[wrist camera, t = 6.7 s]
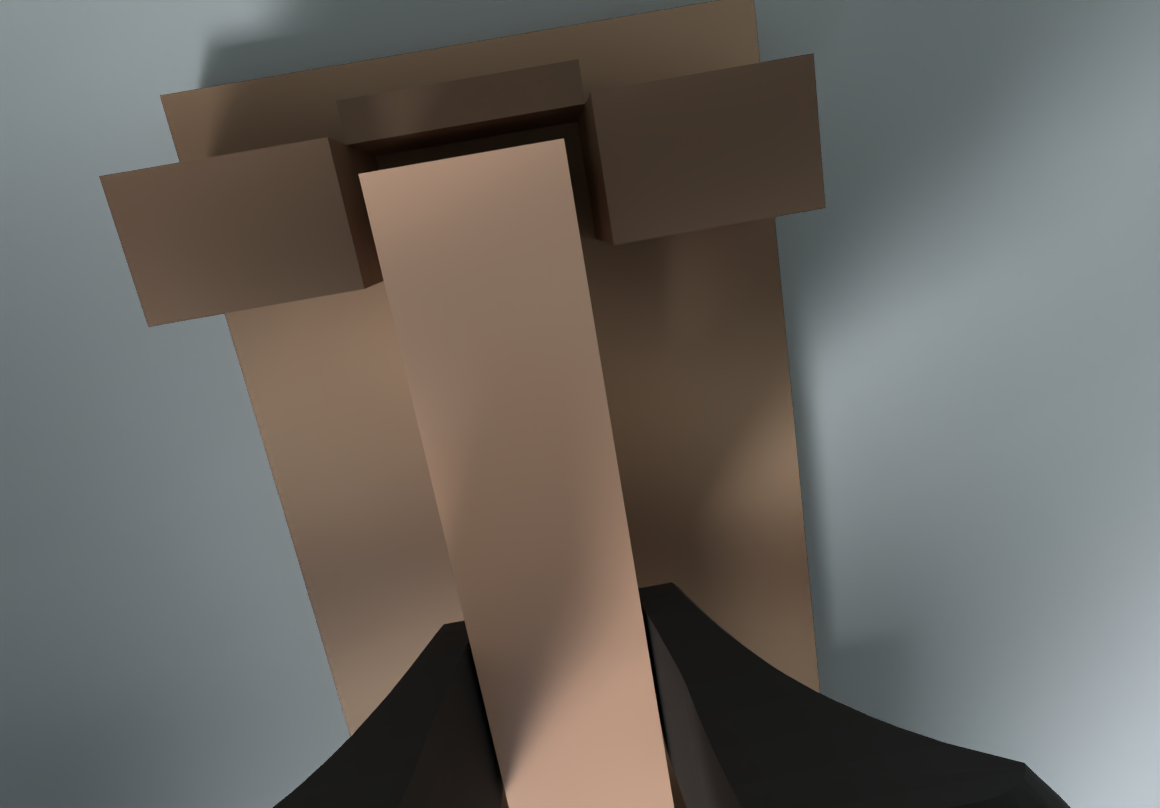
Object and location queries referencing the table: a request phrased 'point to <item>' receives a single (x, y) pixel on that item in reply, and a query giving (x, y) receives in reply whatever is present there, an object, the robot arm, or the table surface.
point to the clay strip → (524, 468)
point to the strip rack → (616, 286)
